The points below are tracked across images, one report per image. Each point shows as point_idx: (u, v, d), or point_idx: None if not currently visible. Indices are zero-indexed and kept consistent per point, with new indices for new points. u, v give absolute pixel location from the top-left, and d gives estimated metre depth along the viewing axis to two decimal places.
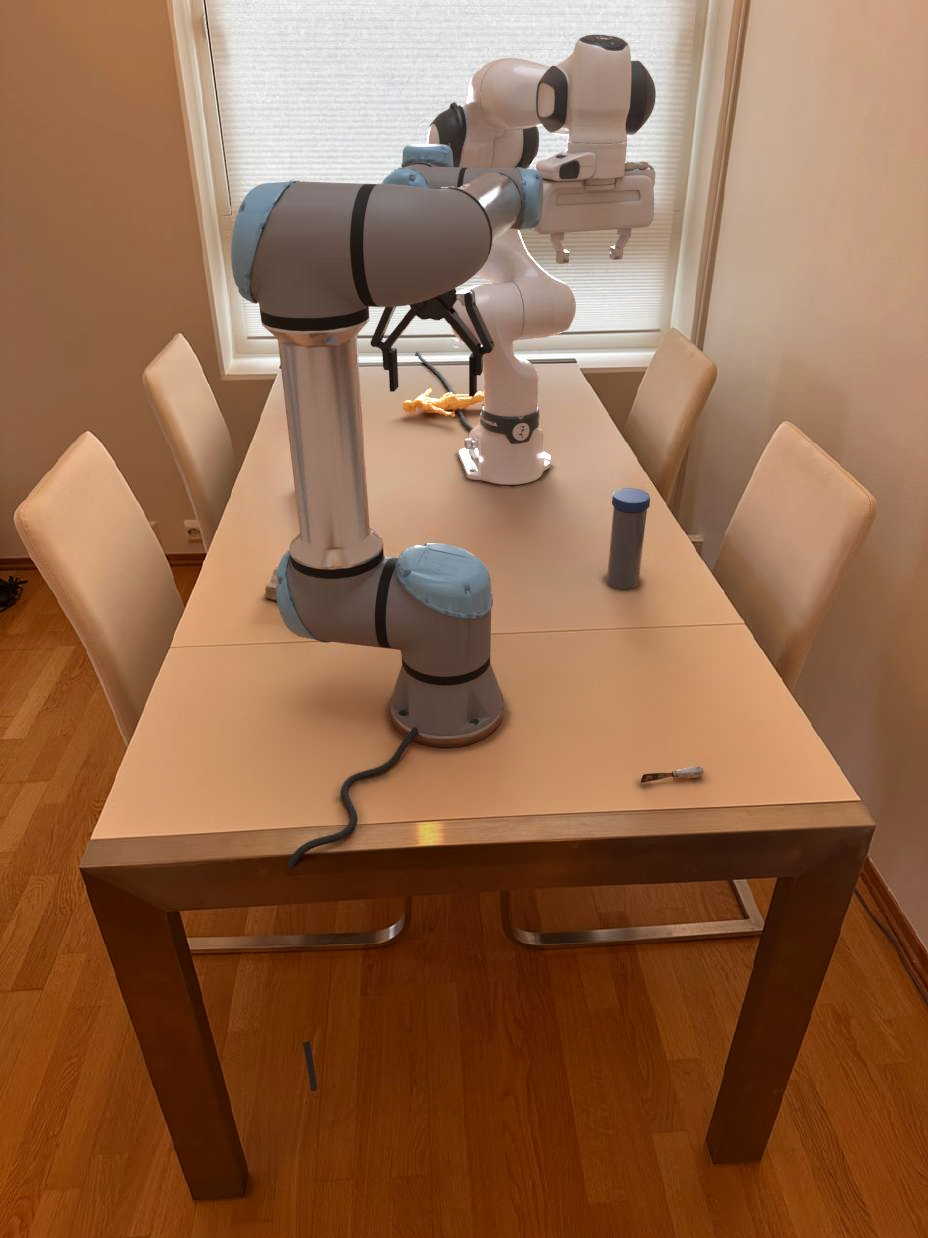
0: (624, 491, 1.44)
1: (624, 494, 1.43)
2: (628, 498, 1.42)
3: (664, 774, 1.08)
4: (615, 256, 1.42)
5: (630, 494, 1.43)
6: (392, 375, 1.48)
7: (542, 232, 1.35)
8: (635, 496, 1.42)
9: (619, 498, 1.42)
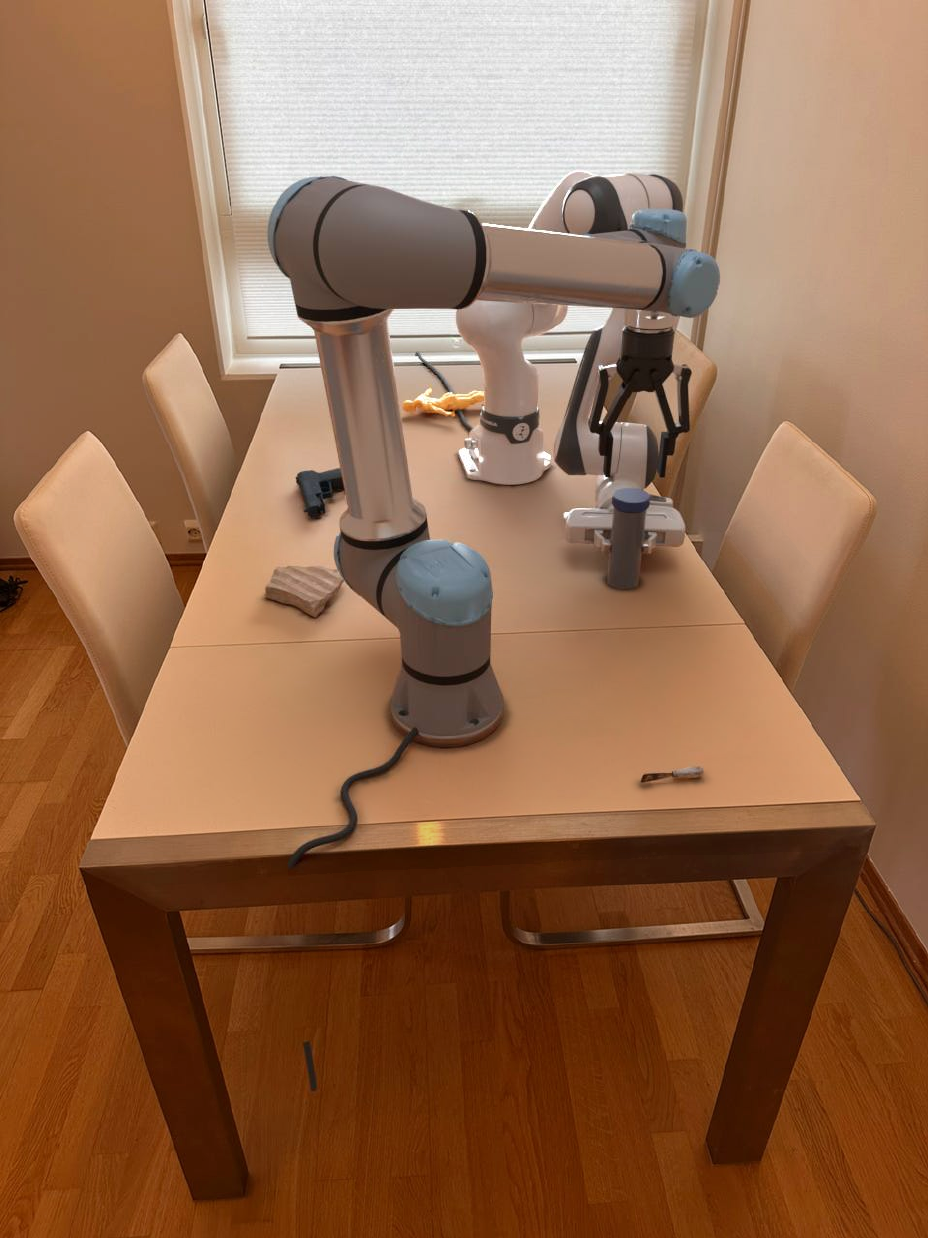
0: (624, 491, 1.44)
1: (624, 494, 1.43)
2: (628, 498, 1.42)
3: (664, 774, 1.08)
4: (608, 551, 1.48)
5: (630, 494, 1.43)
6: None
7: (678, 546, 1.51)
8: (635, 496, 1.42)
9: (619, 498, 1.42)
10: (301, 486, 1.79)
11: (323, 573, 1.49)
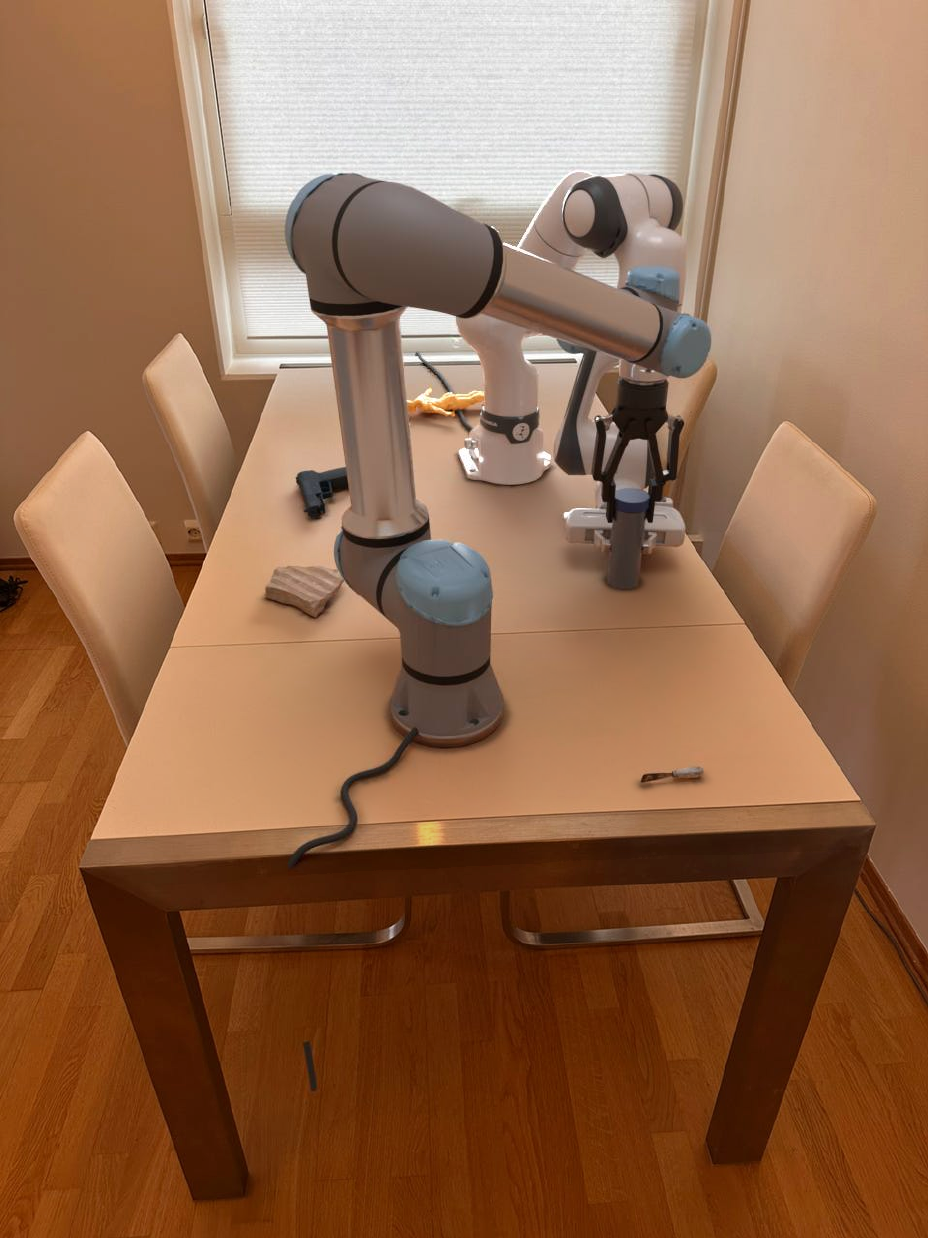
0: (624, 491, 1.44)
1: (624, 494, 1.43)
2: (628, 498, 1.42)
3: (664, 774, 1.08)
4: (608, 551, 1.48)
5: (630, 494, 1.43)
6: None
7: (678, 546, 1.51)
8: (635, 496, 1.42)
9: (619, 498, 1.42)
10: (301, 486, 1.79)
11: (323, 573, 1.49)
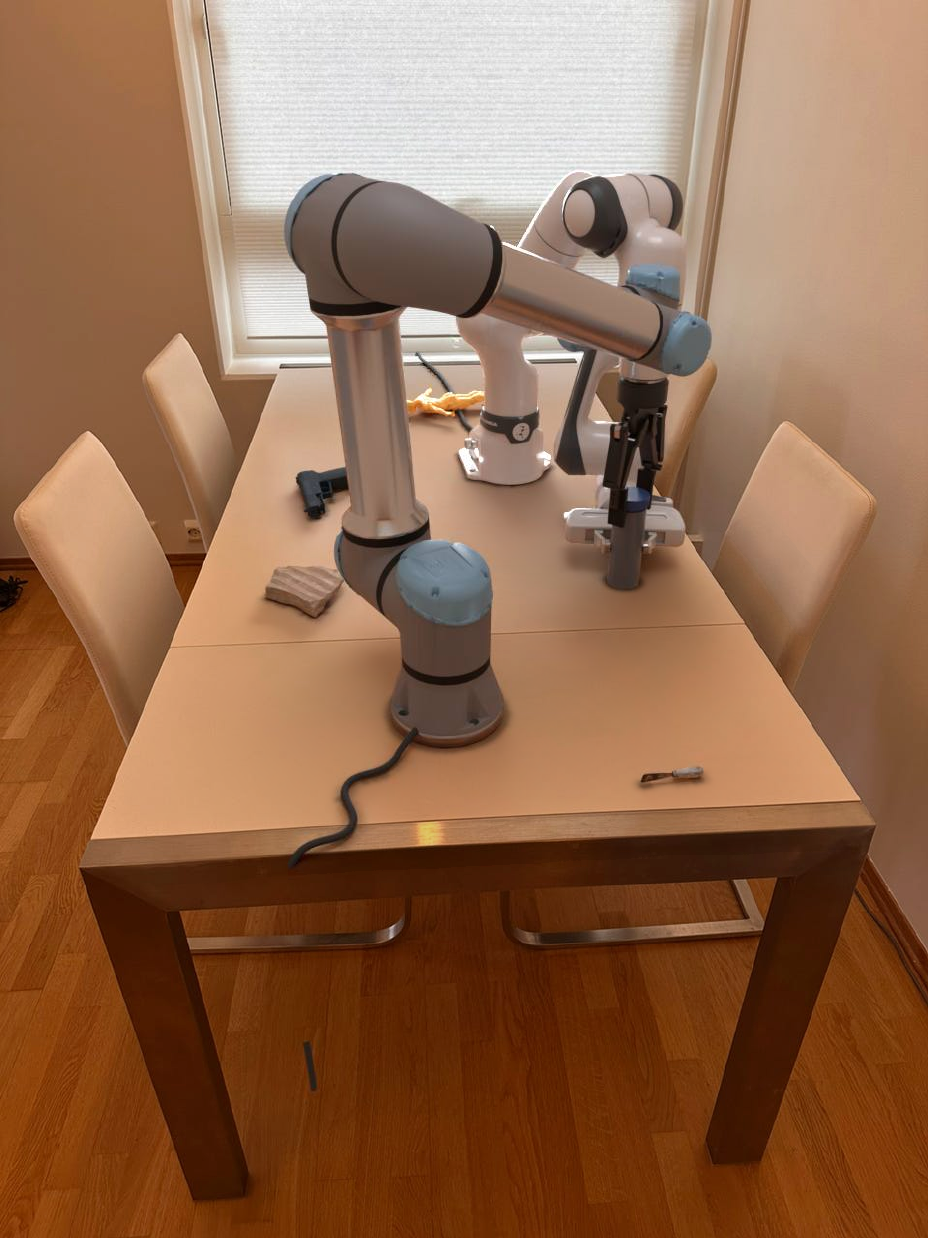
0: None
1: (631, 496, 1.42)
2: (640, 494, 1.42)
3: (664, 774, 1.08)
4: (608, 551, 1.48)
5: (630, 494, 1.42)
6: None
7: (678, 546, 1.51)
8: (633, 492, 1.43)
9: (643, 498, 1.41)
10: (301, 486, 1.79)
11: (323, 573, 1.49)
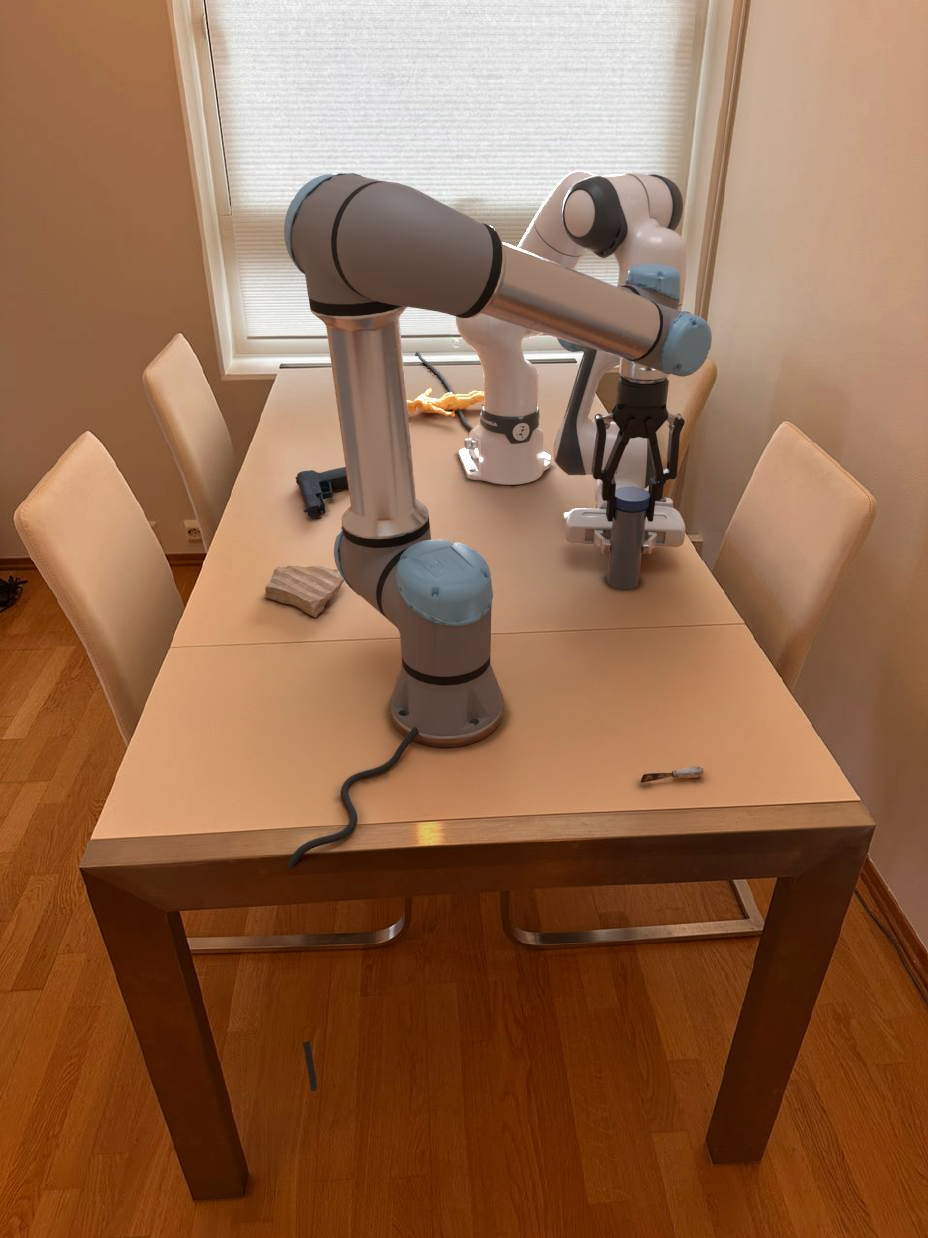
0: (624, 496, 1.42)
1: (631, 496, 1.42)
2: (640, 494, 1.42)
3: (664, 774, 1.08)
4: (608, 551, 1.48)
5: (630, 494, 1.42)
6: None
7: (678, 546, 1.51)
8: (633, 492, 1.43)
9: (643, 498, 1.41)
10: (301, 486, 1.79)
11: (323, 573, 1.49)
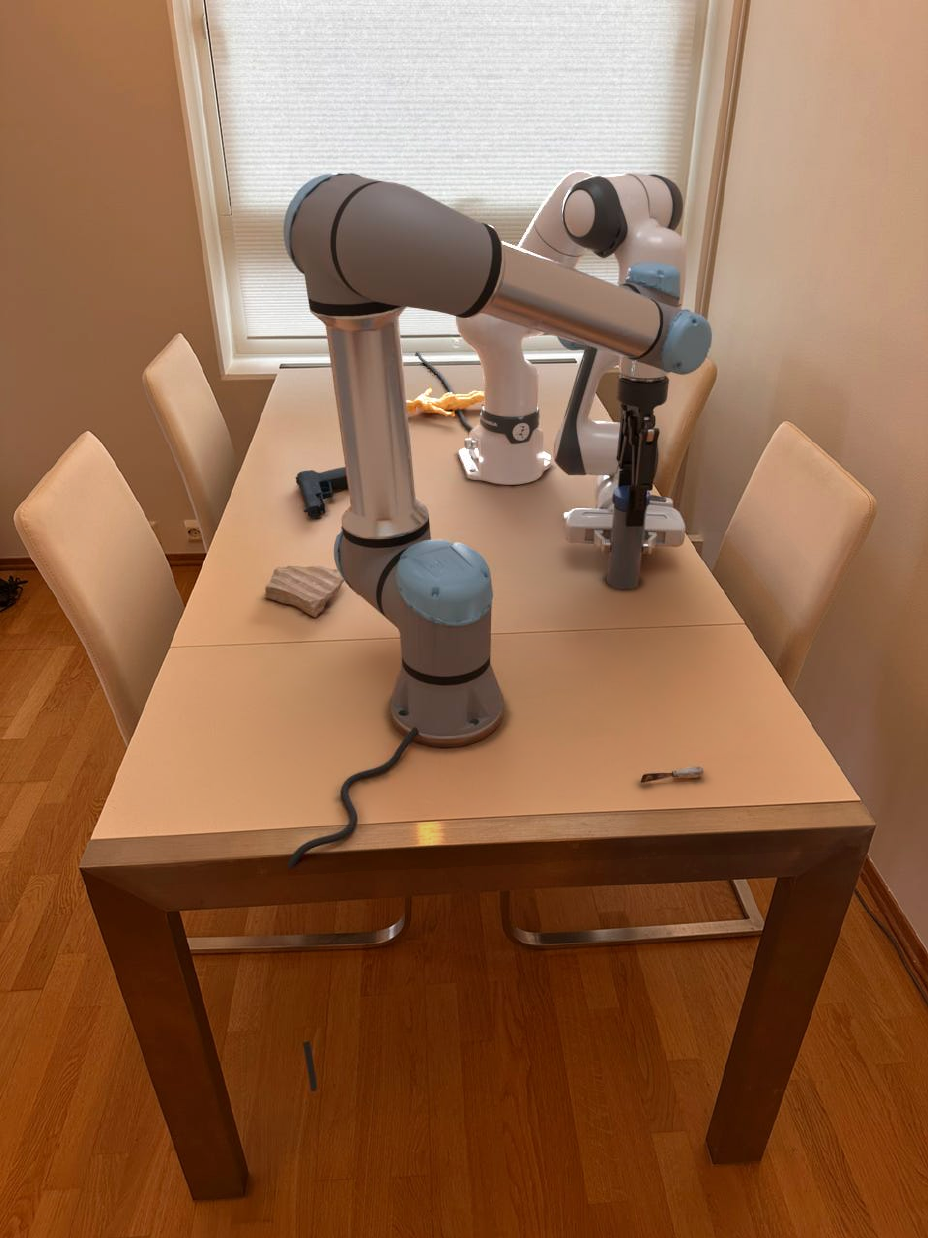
0: None
1: None
2: None
3: (664, 774, 1.08)
4: (608, 551, 1.48)
5: None
6: None
7: (678, 546, 1.51)
8: (627, 491, 1.43)
9: None
10: (301, 486, 1.79)
11: (323, 573, 1.49)
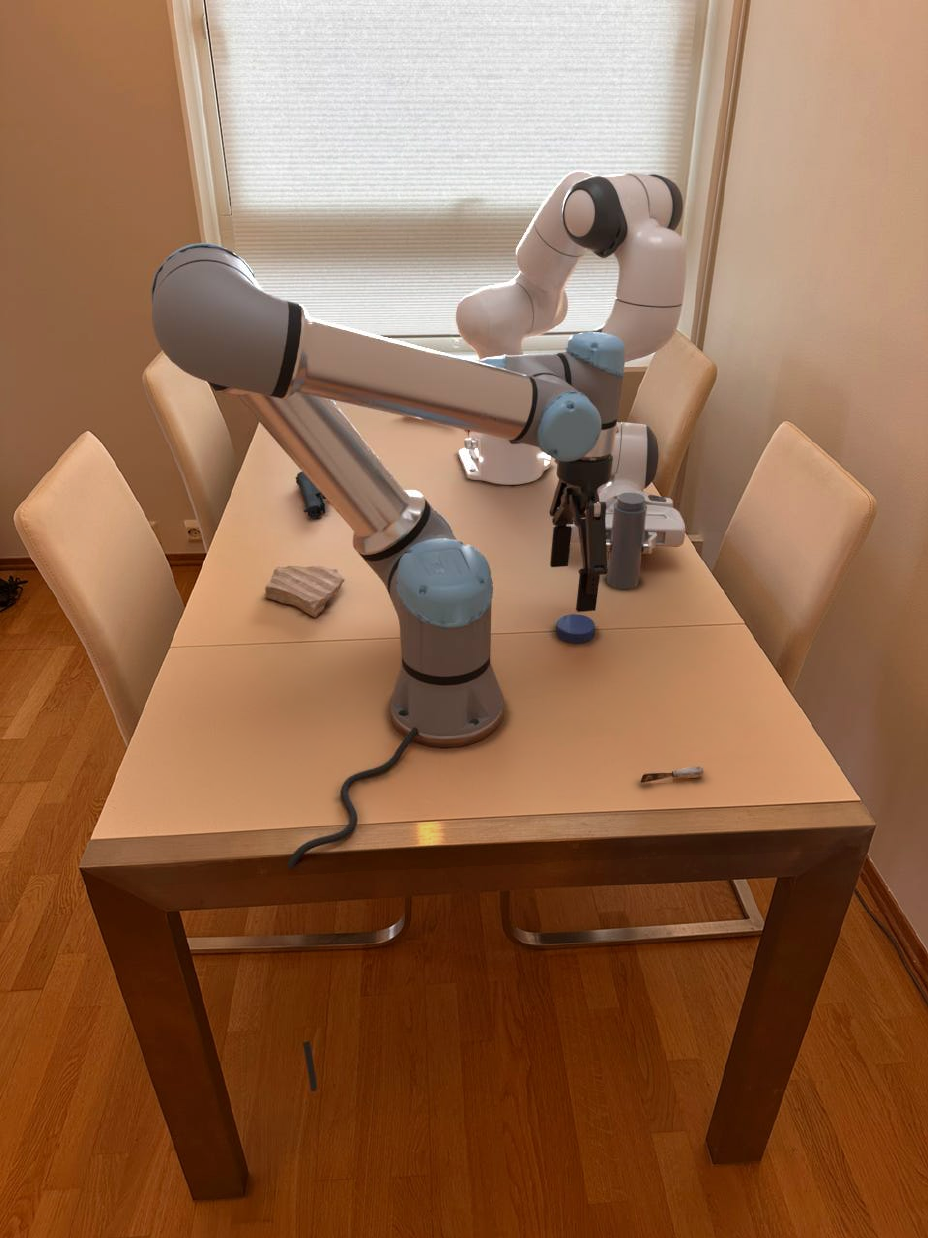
0: (585, 627, 1.36)
1: (582, 623, 1.37)
2: (575, 619, 1.38)
3: (664, 774, 1.08)
4: (608, 551, 1.48)
5: (577, 624, 1.37)
6: (552, 551, 1.37)
7: (678, 546, 1.51)
8: (571, 623, 1.37)
9: (583, 617, 1.38)
10: (301, 486, 1.79)
11: (323, 573, 1.49)
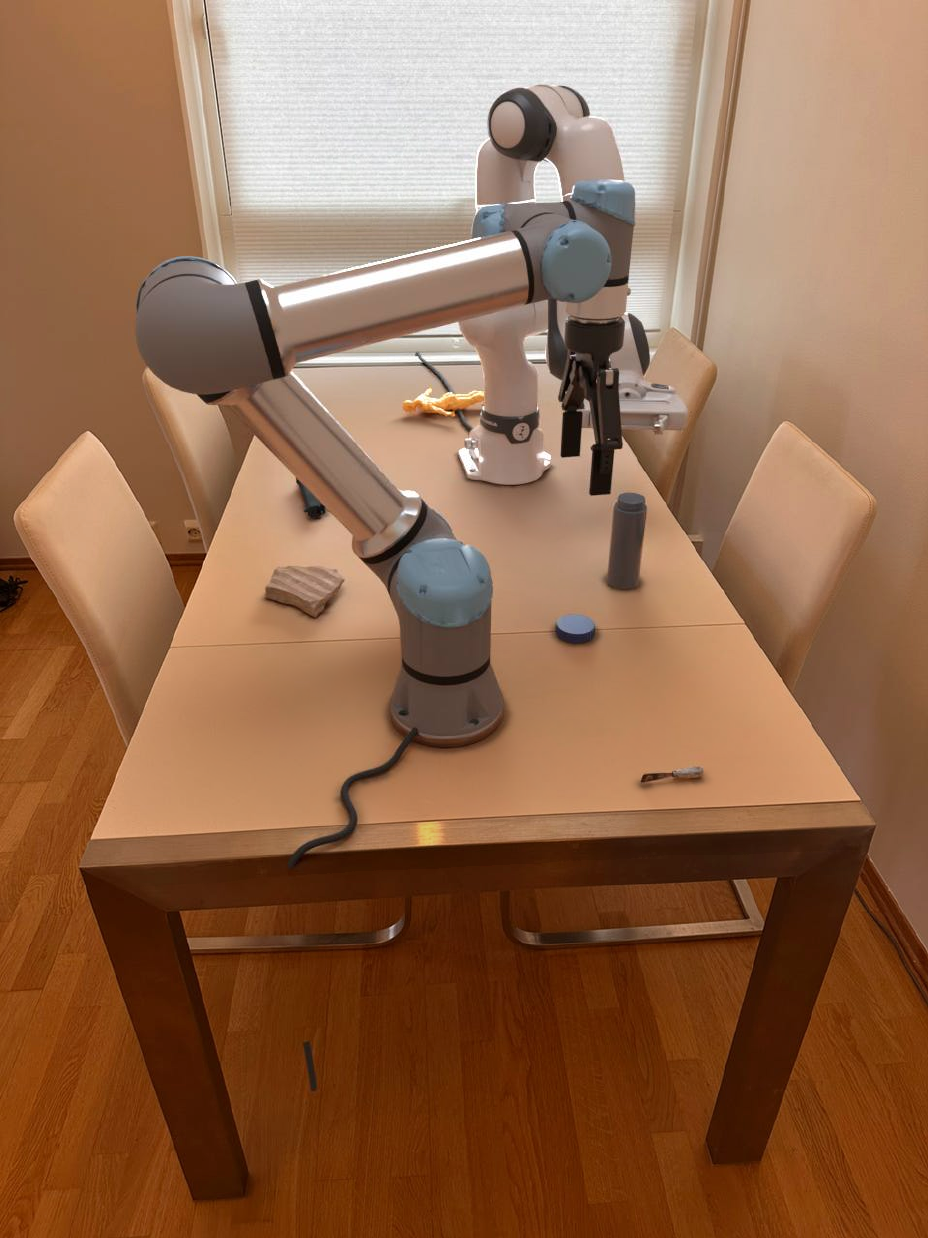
0: (585, 627, 1.36)
1: (582, 623, 1.37)
2: (575, 619, 1.38)
3: (664, 774, 1.08)
4: None
5: (577, 624, 1.37)
6: (562, 439, 1.27)
7: None
8: (571, 623, 1.37)
9: (583, 617, 1.38)
10: (301, 486, 1.79)
11: (323, 573, 1.49)
